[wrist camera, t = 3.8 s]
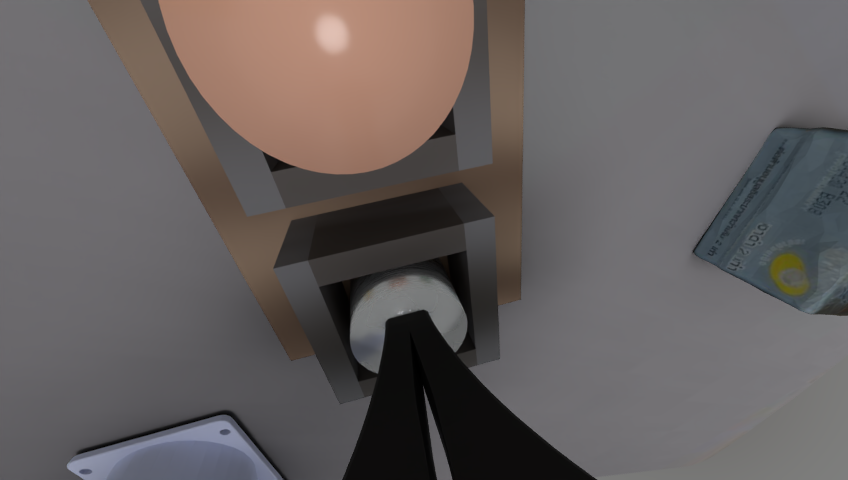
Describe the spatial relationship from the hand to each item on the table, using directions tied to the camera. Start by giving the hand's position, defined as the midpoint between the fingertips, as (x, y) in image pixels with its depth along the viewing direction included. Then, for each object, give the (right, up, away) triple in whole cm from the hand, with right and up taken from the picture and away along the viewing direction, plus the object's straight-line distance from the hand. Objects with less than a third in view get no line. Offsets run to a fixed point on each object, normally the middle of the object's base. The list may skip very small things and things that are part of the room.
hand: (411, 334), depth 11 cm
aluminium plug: (-1, +2, +3) cm, 3 cm away
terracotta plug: (-1, +8, -3) cm, 9 cm away
